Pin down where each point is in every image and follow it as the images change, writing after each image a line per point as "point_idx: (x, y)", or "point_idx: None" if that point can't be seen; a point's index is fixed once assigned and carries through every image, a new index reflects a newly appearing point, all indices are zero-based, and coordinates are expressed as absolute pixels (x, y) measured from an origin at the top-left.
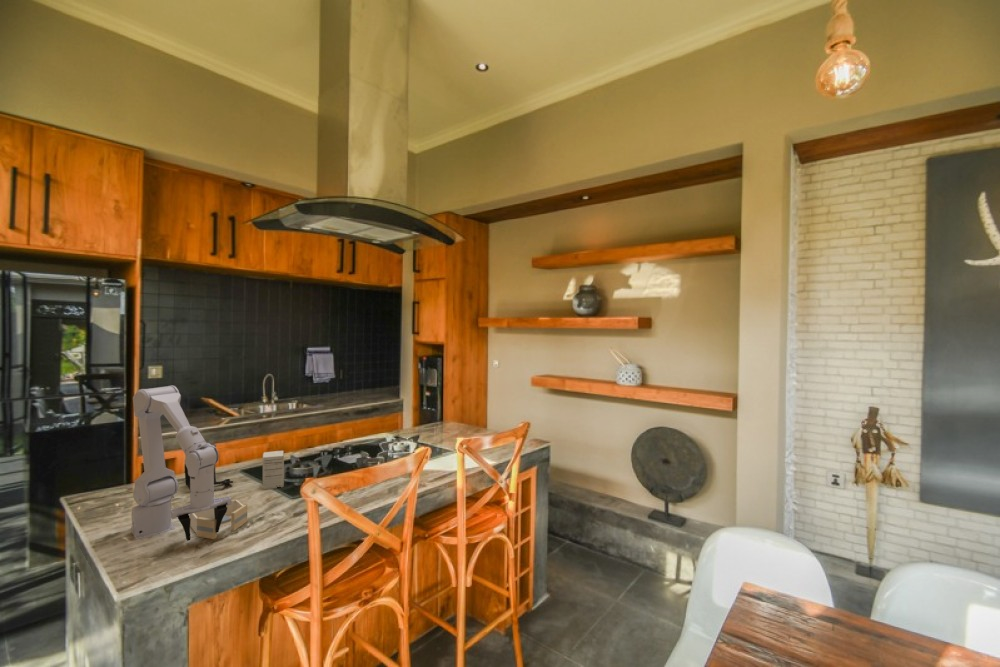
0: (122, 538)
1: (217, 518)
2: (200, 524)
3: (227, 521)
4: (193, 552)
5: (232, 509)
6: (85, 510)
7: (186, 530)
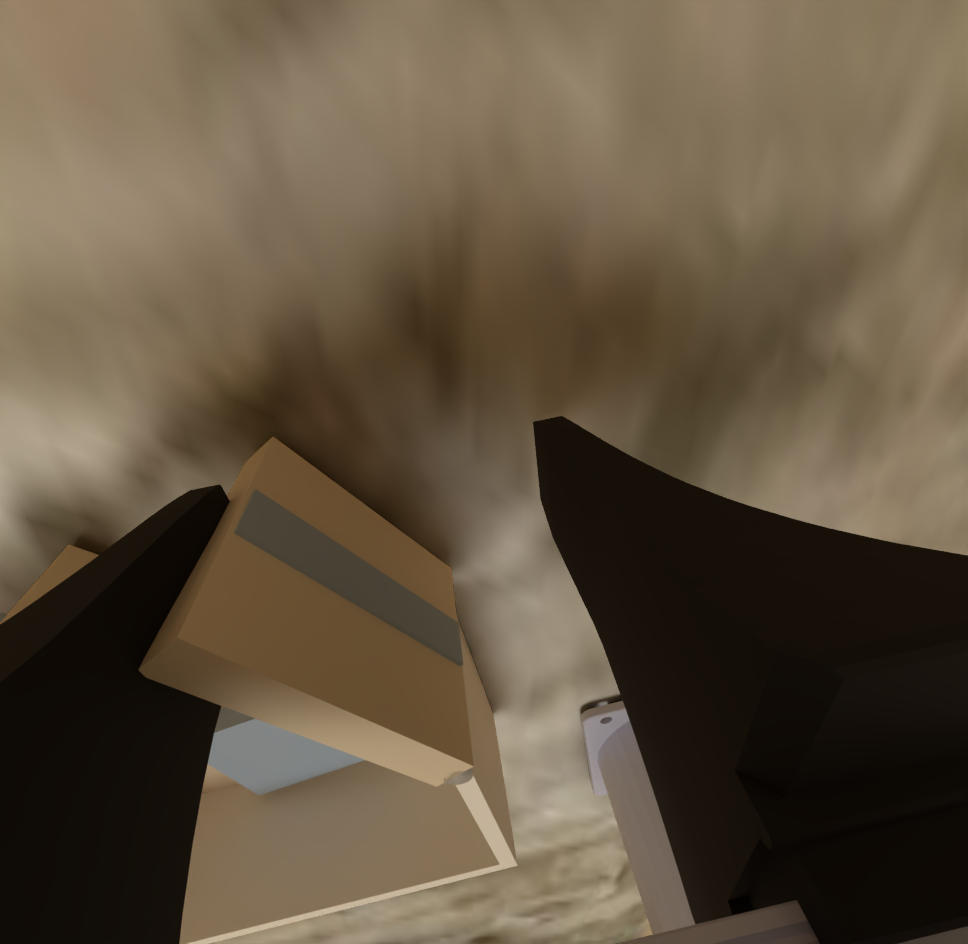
0: None
1: (38, 671)
2: (424, 666)
3: None
4: (486, 207)
5: (193, 843)
6: None
7: (656, 481)
